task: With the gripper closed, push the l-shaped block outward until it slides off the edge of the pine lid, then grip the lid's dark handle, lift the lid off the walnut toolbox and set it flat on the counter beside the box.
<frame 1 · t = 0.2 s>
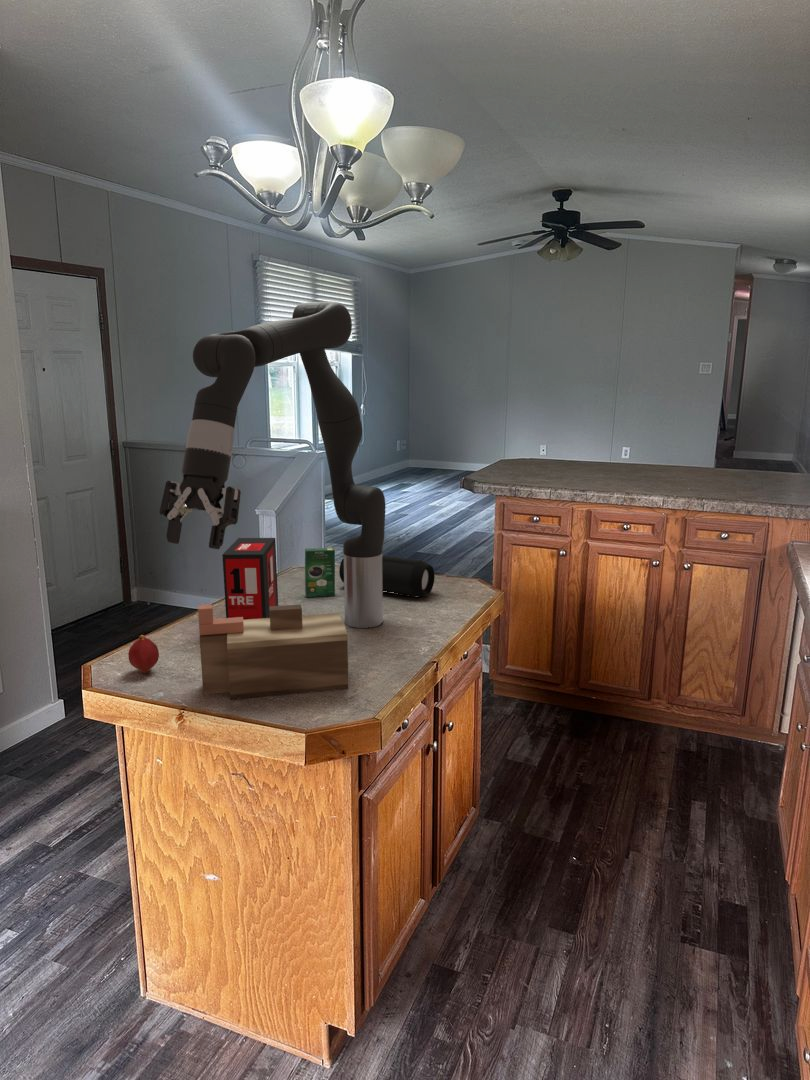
hand: (193, 545, 122), 31 cm above the counter, tool tilted 20°, fingers open, 8 cm apart
lid: (286, 638, 141), point 9 cm above the counter, touching toolbox
onion: (145, 673, 148), on the counter
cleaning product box: (254, 628, 173), on the counter
l-shaped block: (221, 618, 137), point 14 cm above the counter, slide at 0.0 cm
portable speaker: (386, 592, 202), on the counter
coffee box: (320, 596, 198), on the counter
toolbox: (288, 681, 143), on the counter
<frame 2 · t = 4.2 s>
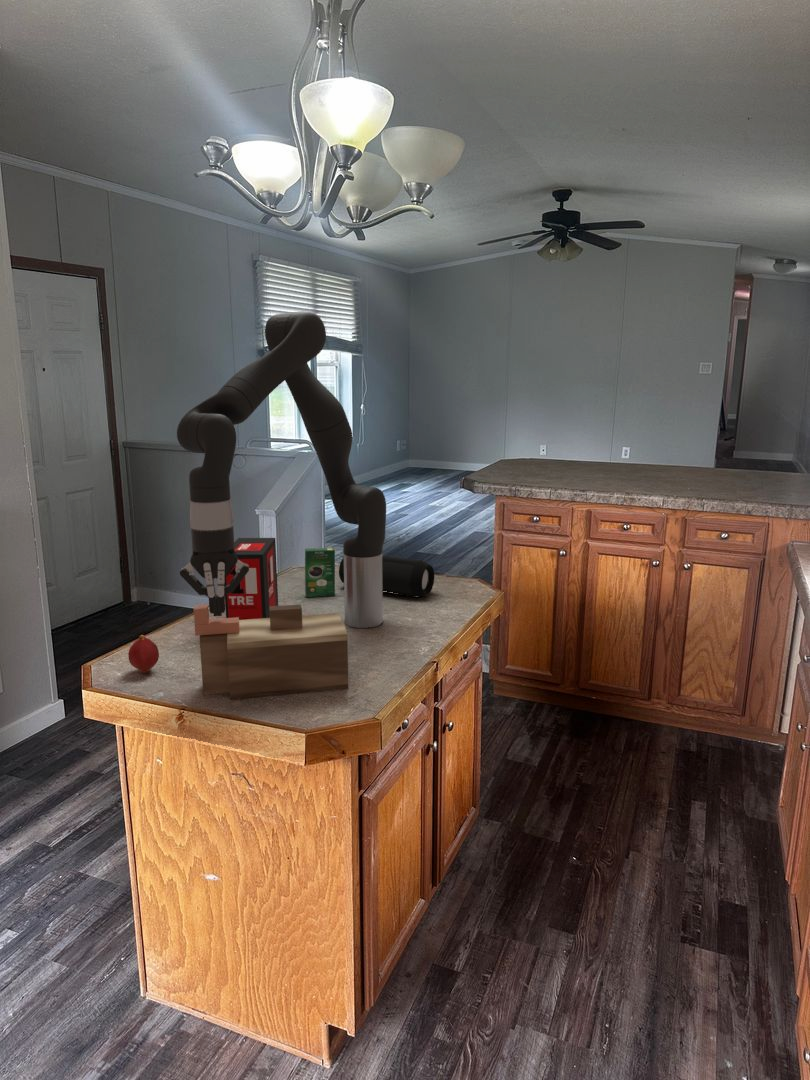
hand: (217, 614, 137), 15 cm above the counter, tool pointing down, fingers closed
l-shaped block: (216, 618, 137), point 14 cm above the counter, slide at 0.8 cm, touching gripper
everything else where it was.
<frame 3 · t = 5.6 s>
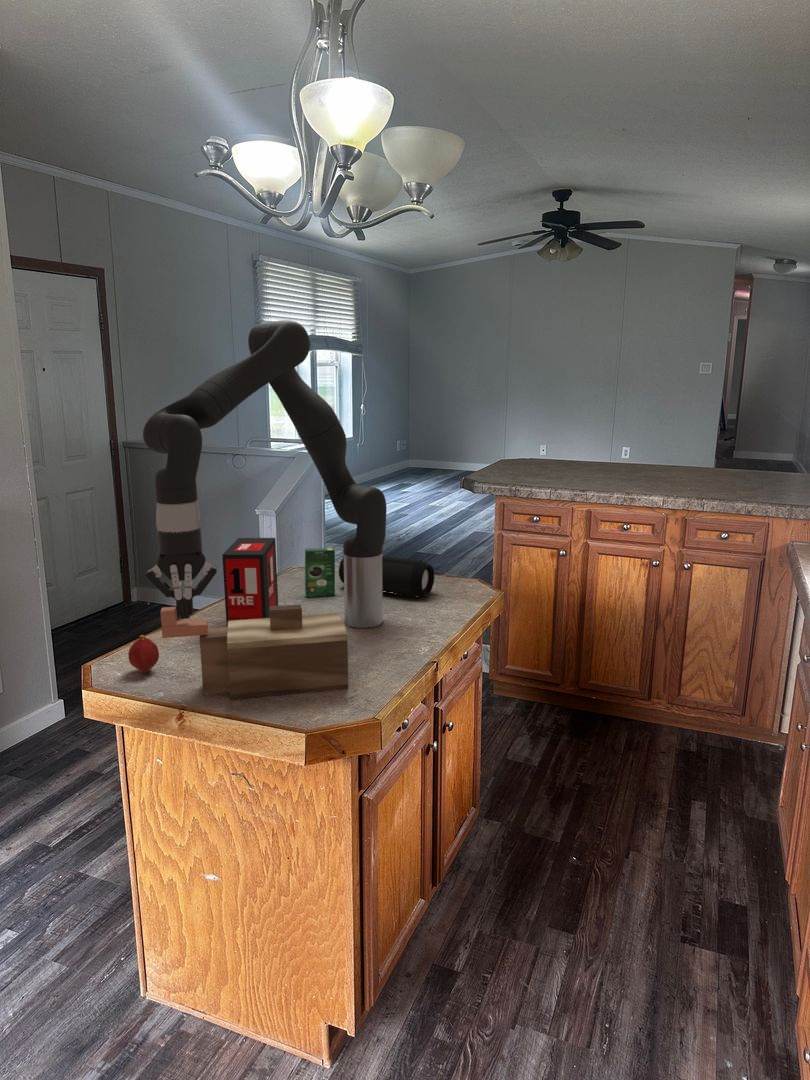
hand: (185, 617, 135), 15 cm above the counter, tool pointing down, fingers closed
l-shaped block: (184, 621, 136), point 14 cm above the counter, slide at 6.6 cm, touching gripper
everything else where it was.
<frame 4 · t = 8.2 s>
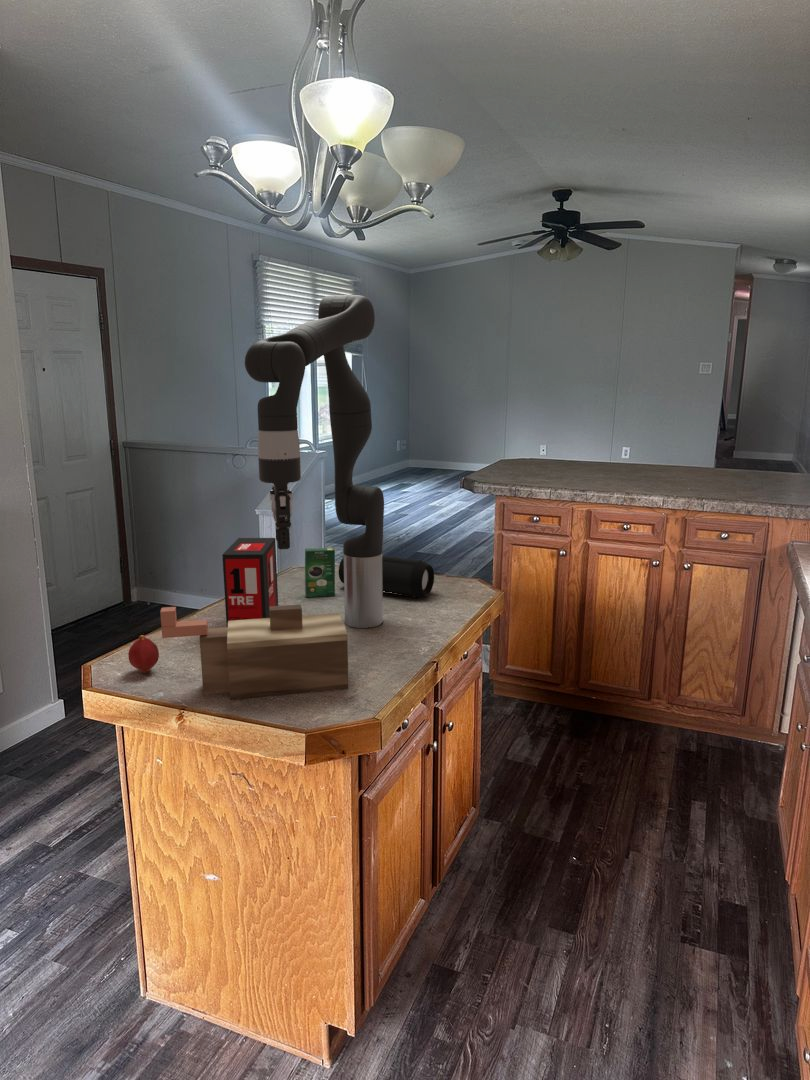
hand: (282, 544, 137), 28 cm above the counter, tool pointing down, fingers open, 6 cm apart
l-shaped block: (184, 621, 136), point 14 cm above the counter, slide at 6.6 cm
everything else where it was.
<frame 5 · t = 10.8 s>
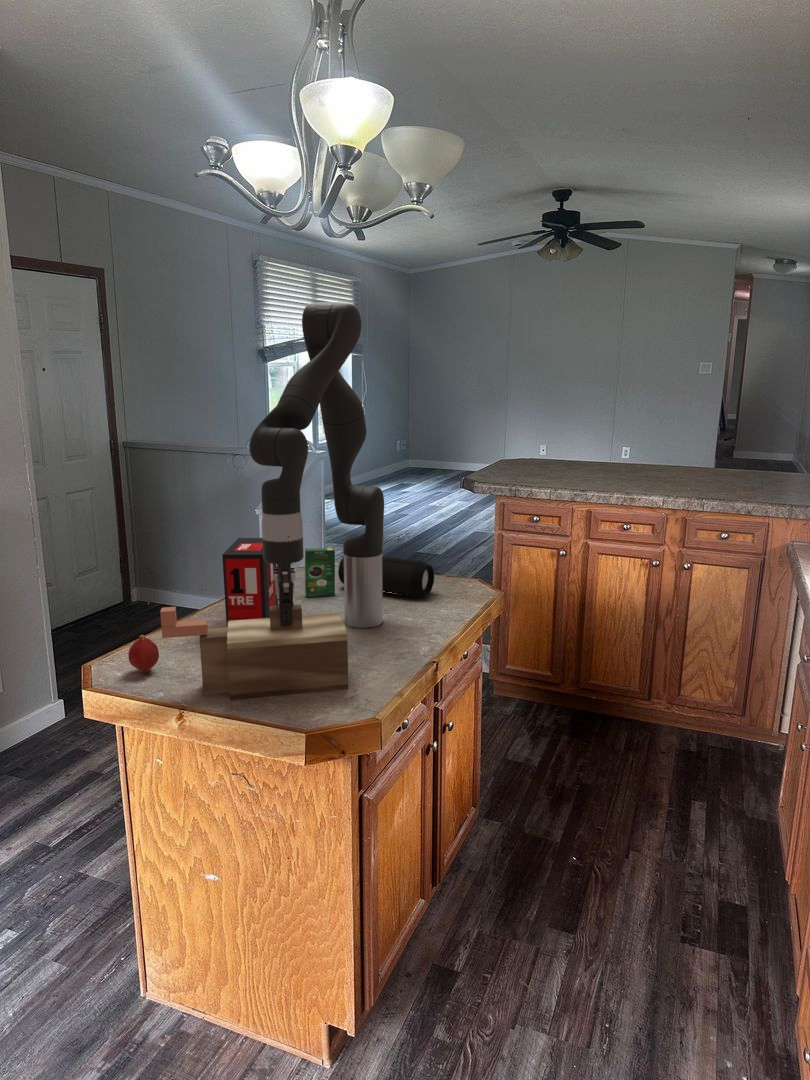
hand: (286, 622, 140), 12 cm above the counter, tool pointing down, fingers closed on lid, 2 cm apart
lid: (286, 638, 141), point 9 cm above the counter, touching gripper, toolbox
everything else where it was.
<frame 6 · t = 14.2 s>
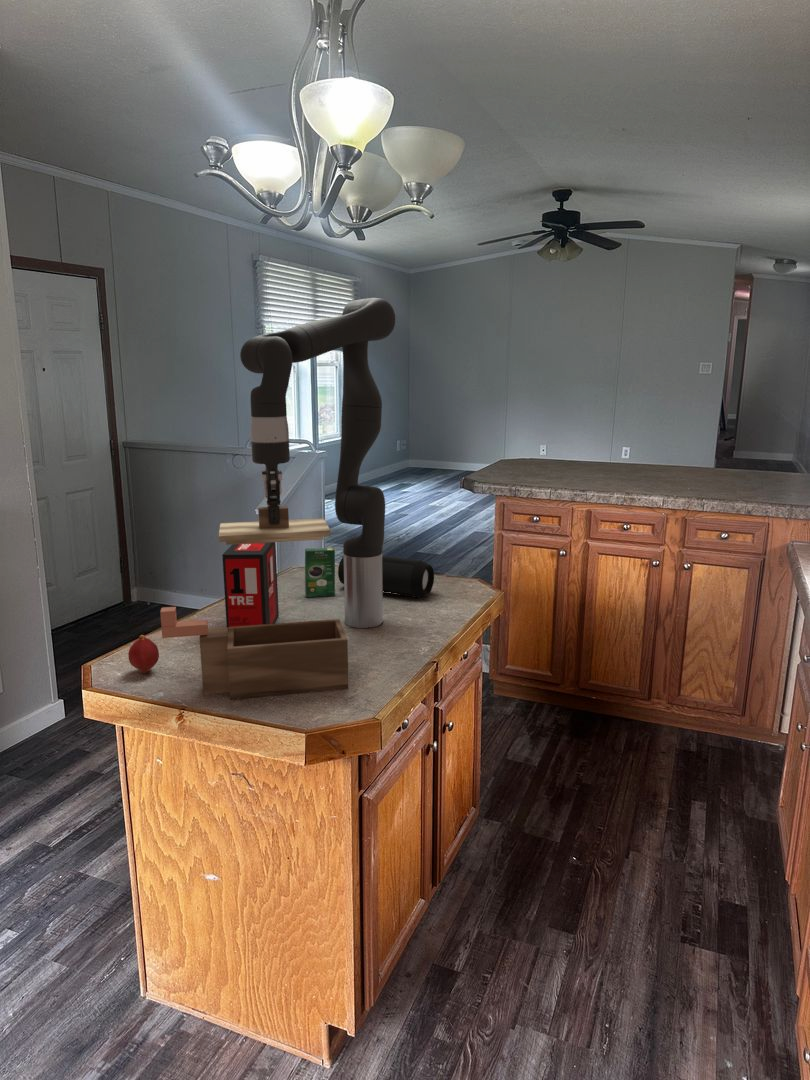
hand: (274, 522, 151), 29 cm above the counter, tool pointing down, fingers closed on lid, 2 cm apart
lid: (274, 537, 152), point 26 cm above the counter, touching gripper
everything else where it was.
when the fingers open (5 cm above the counter, at t = 17.9 s): lid drops 2 cm, on the counter.
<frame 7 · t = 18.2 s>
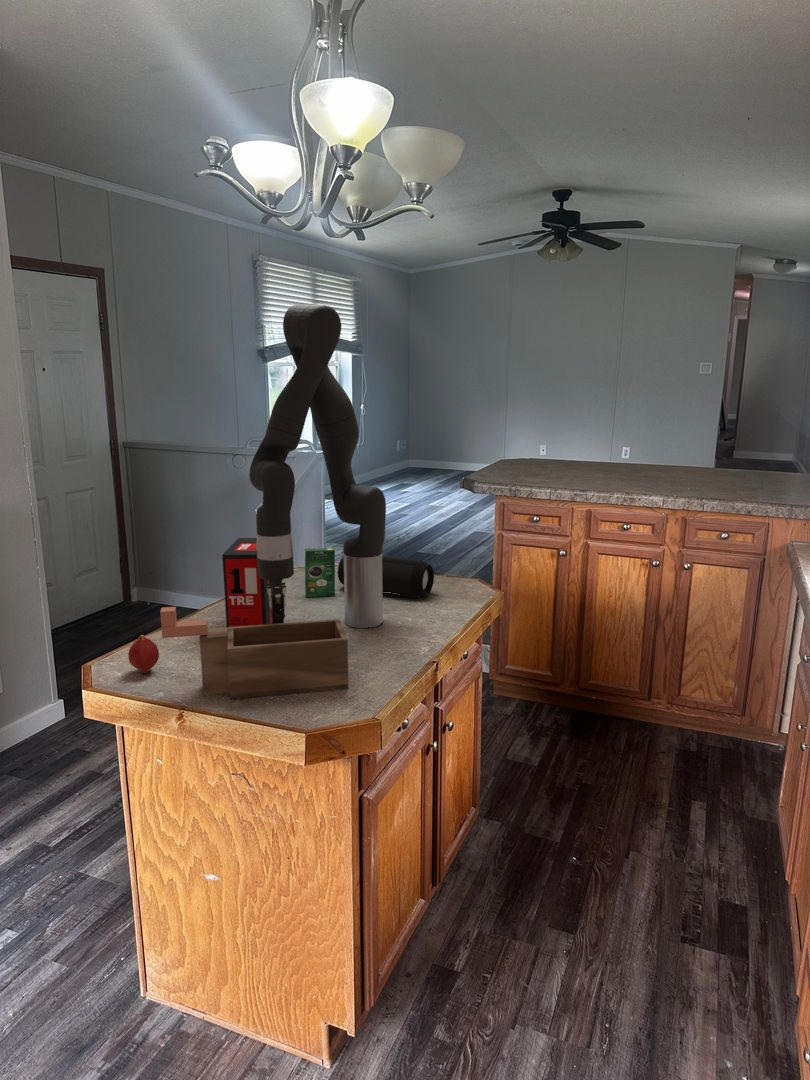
hand: (278, 630, 157), 5 cm above the counter, tool pointing down, fingers open, 5 cm apart
lid: (279, 653, 158), on the counter
everything else where it was.
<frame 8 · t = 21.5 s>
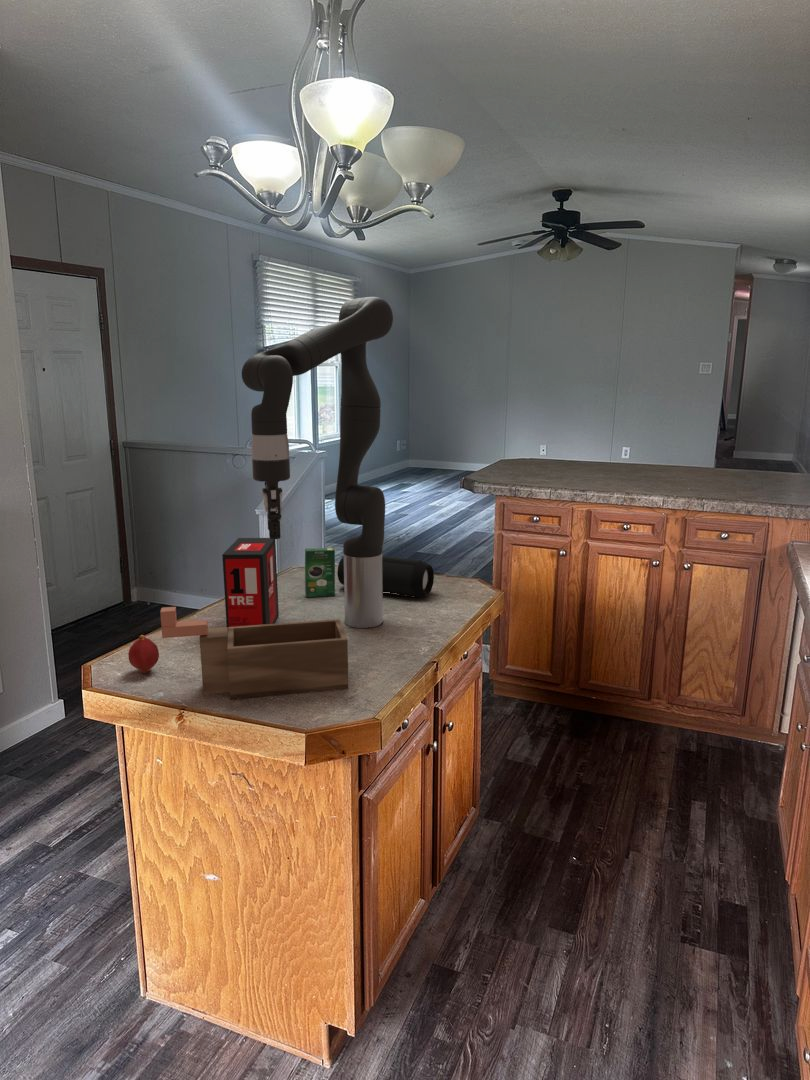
hand: (274, 534, 152), 26 cm above the counter, tool pointing down, fingers open, 8 cm apart
at the end: l-shaped block slide at 6.6 cm; lid inside the target area (0.0 cm from its centre), on the counter; lid tilted 0° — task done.
